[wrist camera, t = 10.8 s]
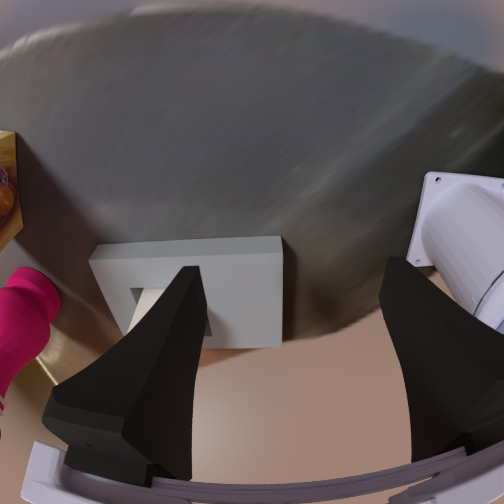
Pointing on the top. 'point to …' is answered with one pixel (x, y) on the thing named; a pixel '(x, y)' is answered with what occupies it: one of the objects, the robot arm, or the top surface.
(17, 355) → the pepper mill
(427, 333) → the robot arm
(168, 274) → the plate
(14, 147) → the candy box
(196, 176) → the top surface
